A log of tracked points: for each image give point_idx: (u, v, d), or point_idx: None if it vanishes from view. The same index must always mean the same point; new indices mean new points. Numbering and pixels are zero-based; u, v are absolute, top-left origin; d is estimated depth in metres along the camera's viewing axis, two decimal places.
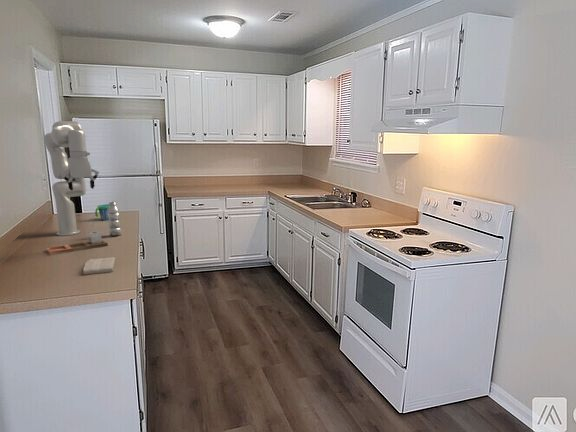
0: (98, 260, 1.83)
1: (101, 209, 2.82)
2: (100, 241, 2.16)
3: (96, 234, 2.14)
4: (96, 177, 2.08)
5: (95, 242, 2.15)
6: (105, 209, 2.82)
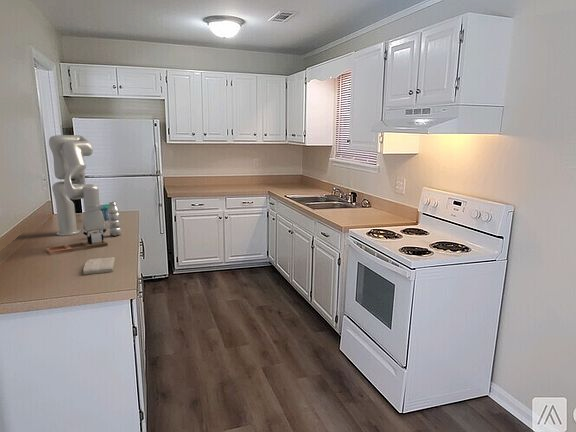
0: (98, 260, 1.83)
1: (101, 209, 2.82)
2: (100, 241, 2.16)
3: (96, 234, 2.14)
4: (104, 231, 2.18)
5: (95, 242, 2.15)
6: (105, 209, 2.82)
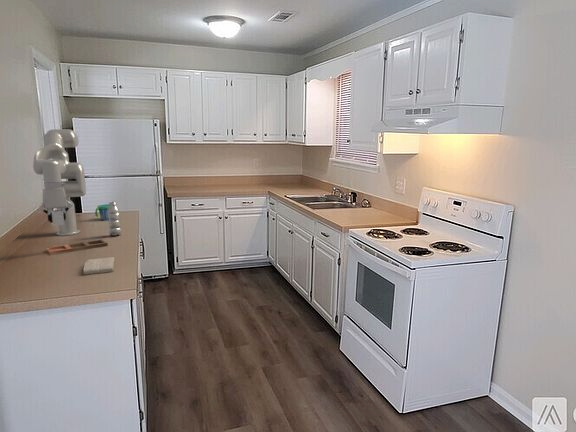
0: (97, 260, 1.83)
1: (101, 209, 2.82)
2: (62, 220, 2.03)
3: (57, 212, 2.01)
4: (67, 209, 2.05)
5: (56, 221, 2.01)
6: (105, 209, 2.82)
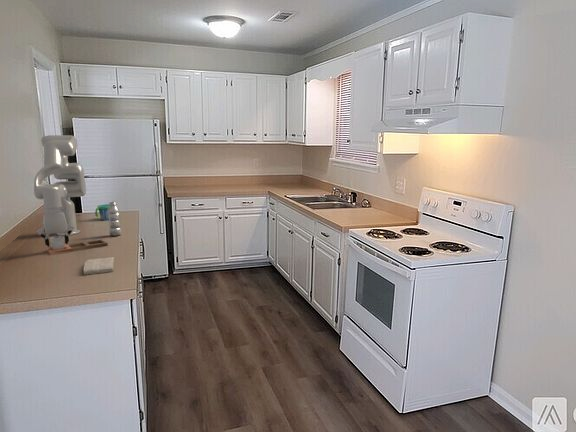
0: (97, 260, 1.83)
1: (101, 209, 2.82)
2: (62, 246, 2.05)
3: (58, 239, 2.03)
4: (70, 232, 2.08)
5: (57, 247, 2.03)
6: (105, 209, 2.82)
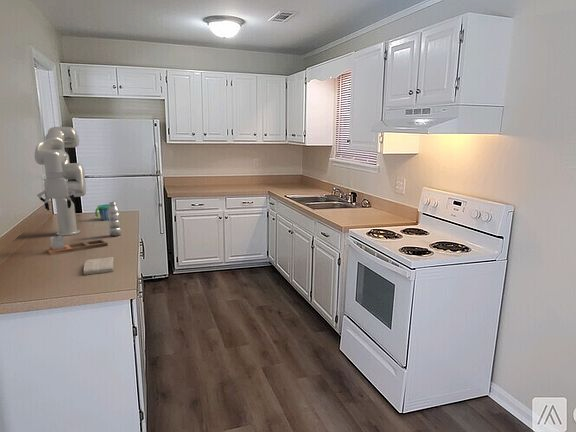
0: (97, 260, 1.82)
1: (101, 209, 2.82)
2: (62, 246, 2.05)
3: (58, 239, 2.03)
4: None
5: (57, 247, 2.03)
6: (105, 209, 2.82)
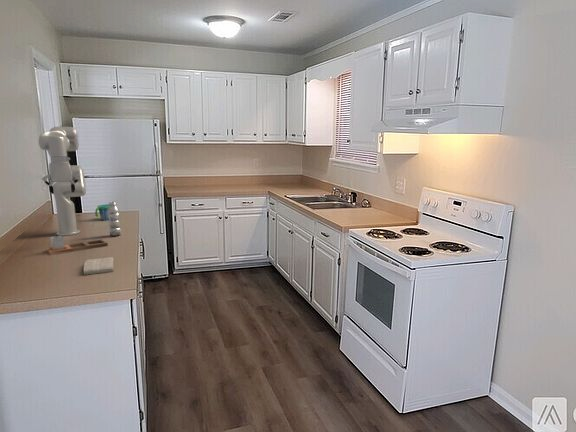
0: (97, 260, 1.82)
1: (101, 209, 2.82)
2: (62, 246, 2.05)
3: (58, 239, 2.03)
4: (77, 181, 2.16)
5: (57, 247, 2.03)
6: (105, 209, 2.82)
